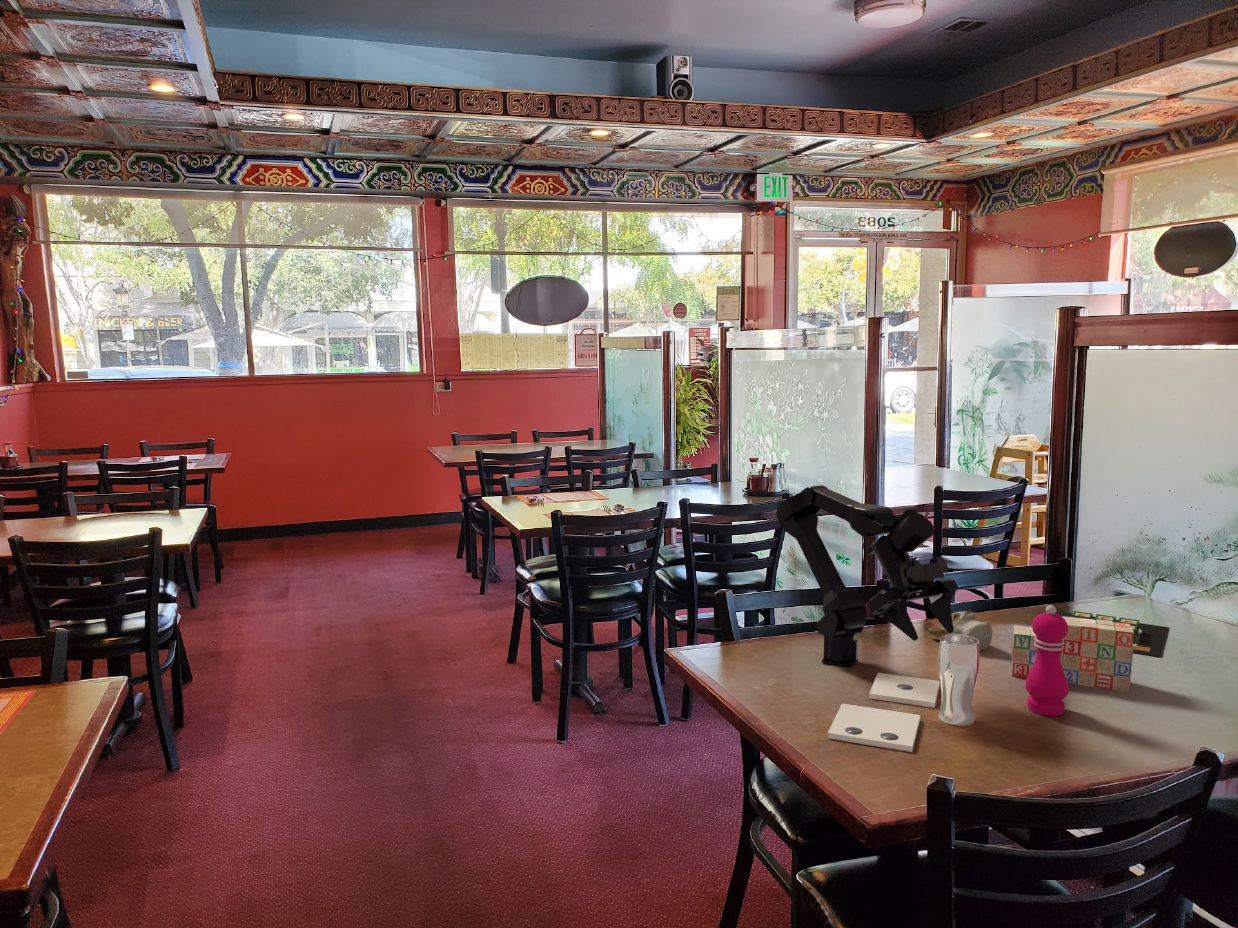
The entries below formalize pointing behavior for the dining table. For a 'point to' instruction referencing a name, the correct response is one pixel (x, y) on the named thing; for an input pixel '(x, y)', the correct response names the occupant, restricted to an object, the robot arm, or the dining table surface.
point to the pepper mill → (1048, 665)
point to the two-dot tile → (875, 727)
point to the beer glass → (958, 678)
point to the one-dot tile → (905, 690)
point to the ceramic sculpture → (967, 628)
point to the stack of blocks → (1083, 653)
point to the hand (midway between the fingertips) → (934, 636)
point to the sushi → (1149, 638)
